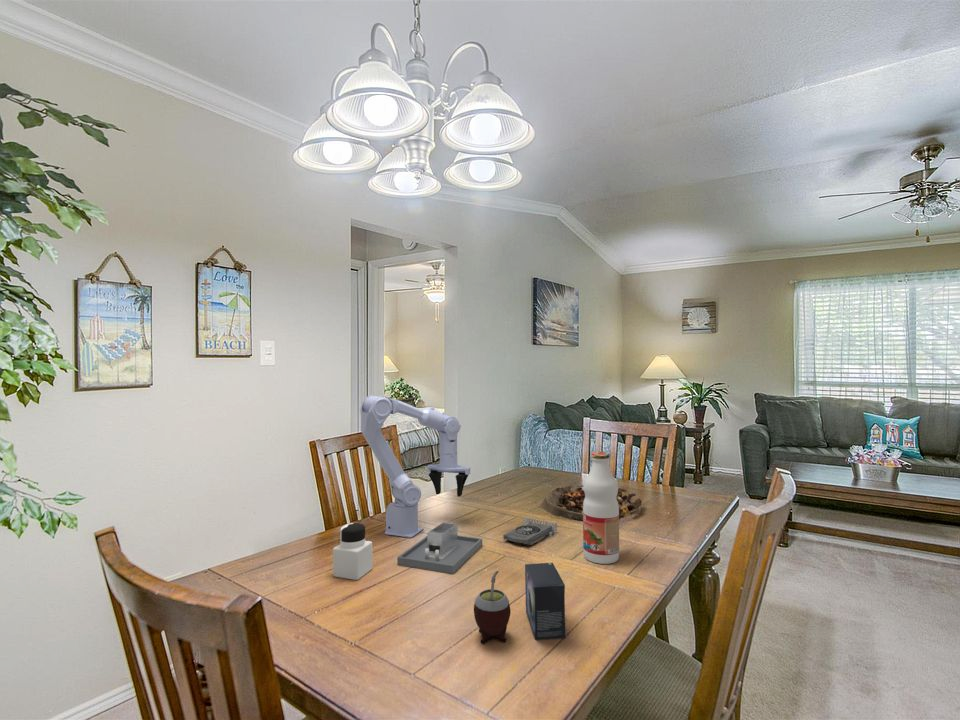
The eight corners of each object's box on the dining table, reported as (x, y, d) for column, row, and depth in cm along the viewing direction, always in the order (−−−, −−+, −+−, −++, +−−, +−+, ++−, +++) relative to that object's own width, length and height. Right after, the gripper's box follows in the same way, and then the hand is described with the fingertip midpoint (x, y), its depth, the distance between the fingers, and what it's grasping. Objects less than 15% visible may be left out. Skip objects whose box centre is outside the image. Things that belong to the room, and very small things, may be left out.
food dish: (651, 506, 183) (652, 485, 182) (625, 535, 155) (625, 511, 154) (562, 490, 201) (562, 471, 201) (524, 514, 173) (524, 491, 173)
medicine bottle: (373, 569, 128) (372, 522, 128) (357, 580, 121) (357, 531, 121) (349, 565, 130) (348, 519, 130) (332, 576, 123) (332, 528, 123)
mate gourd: (489, 622, 101) (488, 549, 101) (521, 636, 96) (520, 558, 96) (465, 639, 95) (464, 561, 95) (497, 654, 90) (497, 571, 90)
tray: (397, 564, 130) (397, 551, 130) (432, 538, 149) (432, 526, 149) (453, 574, 124) (453, 560, 124) (482, 545, 143) (482, 533, 143)
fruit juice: (623, 564, 129) (622, 456, 129) (587, 565, 129) (586, 456, 129) (614, 550, 138) (613, 449, 138) (580, 550, 138) (579, 450, 138)
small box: (523, 612, 105) (523, 562, 105) (554, 610, 106) (553, 561, 106) (533, 640, 95) (532, 585, 95) (567, 638, 95) (566, 583, 95)
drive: (427, 554, 134) (427, 532, 134) (443, 543, 142) (443, 521, 142) (441, 557, 132) (441, 534, 132) (457, 545, 140) (457, 523, 140)
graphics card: (524, 515, 160) (557, 521, 153) (525, 527, 160) (558, 534, 153) (493, 530, 147) (528, 538, 139) (494, 543, 147) (529, 552, 139)
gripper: (473, 452, 163) (474, 493, 163) (434, 449, 168) (434, 489, 168) (465, 456, 156) (465, 499, 156) (424, 453, 162) (424, 495, 162)
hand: (448, 494), depth 162 cm, fingers open, 7 cm apart
